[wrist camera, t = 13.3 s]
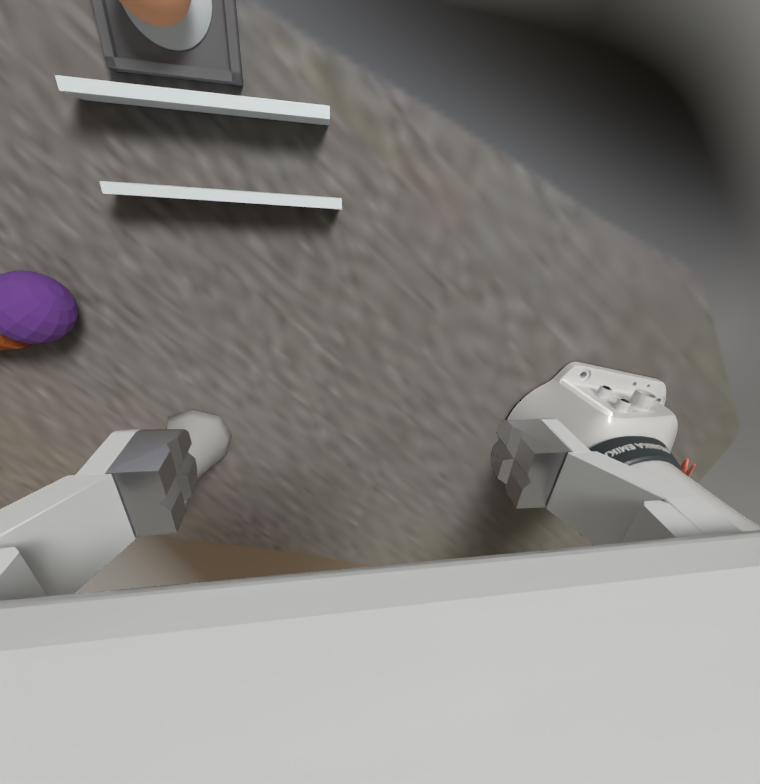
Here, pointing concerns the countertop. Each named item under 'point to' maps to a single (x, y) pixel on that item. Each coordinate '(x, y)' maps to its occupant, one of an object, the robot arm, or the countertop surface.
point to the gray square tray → (173, 42)
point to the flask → (203, 437)
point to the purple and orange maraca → (33, 309)
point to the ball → (158, 11)
